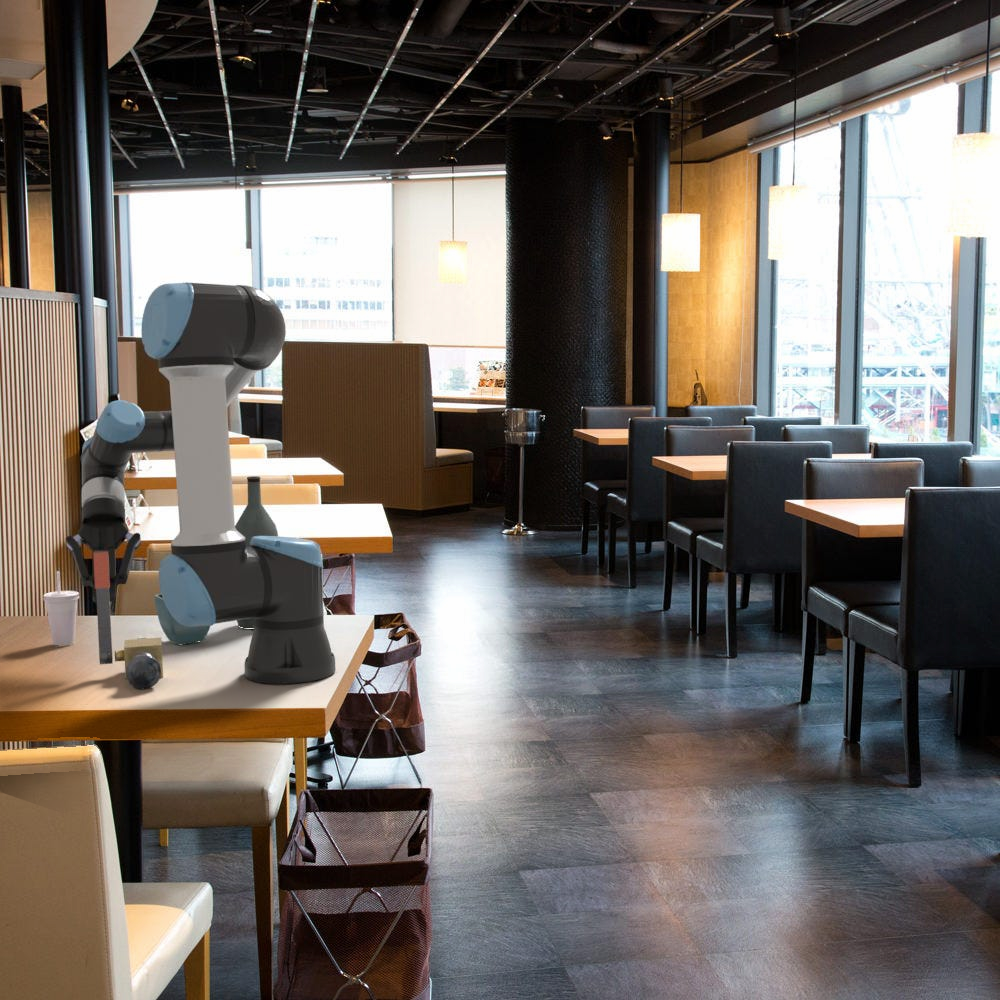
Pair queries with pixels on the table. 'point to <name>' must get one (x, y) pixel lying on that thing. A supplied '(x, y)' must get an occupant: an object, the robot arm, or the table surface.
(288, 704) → the table surface
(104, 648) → the lever
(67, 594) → the smoothie
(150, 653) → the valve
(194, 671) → the table surface
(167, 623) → the flower pot
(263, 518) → the bottle
